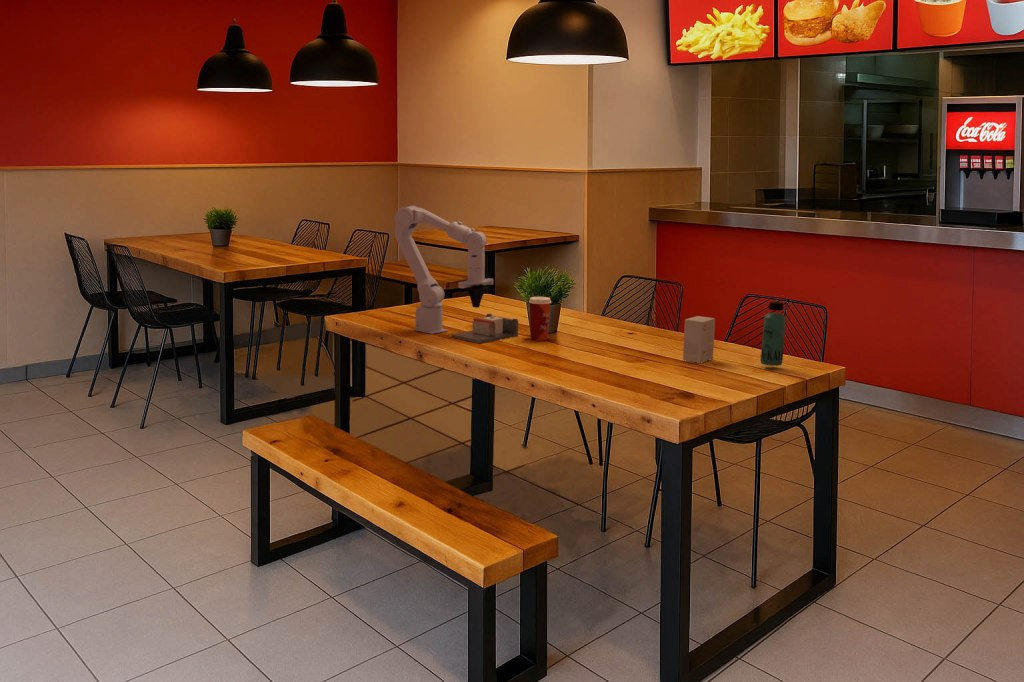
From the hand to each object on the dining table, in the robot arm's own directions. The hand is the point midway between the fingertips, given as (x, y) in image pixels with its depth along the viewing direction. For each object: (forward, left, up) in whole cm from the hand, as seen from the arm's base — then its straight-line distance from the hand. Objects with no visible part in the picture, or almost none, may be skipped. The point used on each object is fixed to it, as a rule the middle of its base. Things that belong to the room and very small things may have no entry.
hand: (475, 307), depth 316 cm
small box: (+74, +23, -10) cm, 78 cm away
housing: (+5, +3, -8) cm, 10 cm away
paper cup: (+20, +10, -10) cm, 25 cm away
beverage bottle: (+95, +30, -10) cm, 100 cm away
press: (+5, -1, -9) cm, 11 cm away
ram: (+5, -1, -8) cm, 10 cm away
